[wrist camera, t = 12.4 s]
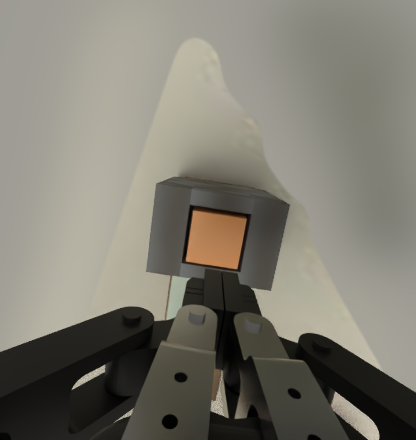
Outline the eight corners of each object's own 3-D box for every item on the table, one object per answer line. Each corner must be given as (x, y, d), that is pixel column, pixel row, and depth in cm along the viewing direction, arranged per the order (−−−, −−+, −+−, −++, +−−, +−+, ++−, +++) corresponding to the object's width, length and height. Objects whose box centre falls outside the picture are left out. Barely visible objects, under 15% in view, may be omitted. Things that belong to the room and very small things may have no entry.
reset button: (189, 249, 24) (185, 261, 21) (195, 204, 23) (193, 210, 20) (234, 256, 24) (237, 269, 21) (242, 211, 23) (246, 219, 20)
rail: (145, 381, 37) (116, 475, 26) (171, 175, 31) (148, 182, 20) (222, 392, 37) (226, 491, 26) (262, 189, 32) (289, 204, 20)
